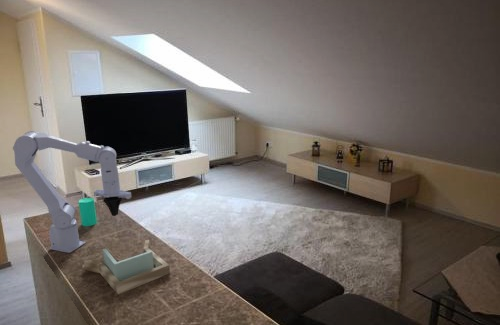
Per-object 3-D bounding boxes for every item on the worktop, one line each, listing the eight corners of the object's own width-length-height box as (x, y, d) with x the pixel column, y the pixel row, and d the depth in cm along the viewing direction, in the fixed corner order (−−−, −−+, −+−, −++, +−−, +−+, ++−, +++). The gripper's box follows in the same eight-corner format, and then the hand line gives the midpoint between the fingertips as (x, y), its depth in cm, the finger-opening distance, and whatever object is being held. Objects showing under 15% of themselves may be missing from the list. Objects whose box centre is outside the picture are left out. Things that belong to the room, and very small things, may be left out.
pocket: (85, 269, 124) (83, 261, 123) (149, 246, 138) (148, 239, 137) (108, 298, 109) (107, 289, 108) (177, 269, 123) (177, 261, 122)
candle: (93, 226, 156) (89, 199, 153) (79, 226, 157) (75, 199, 153) (99, 220, 162) (95, 194, 159) (85, 220, 162) (81, 194, 159)
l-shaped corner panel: (154, 272, 122) (152, 251, 120) (117, 286, 115) (114, 264, 113) (140, 257, 131) (138, 238, 129) (105, 269, 124) (102, 249, 122)
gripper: (86, 182, 135) (91, 217, 139) (122, 185, 132) (126, 220, 136) (98, 176, 142) (103, 210, 146) (132, 179, 138) (136, 213, 142)
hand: (115, 214), depth 141 cm, fingers closed
